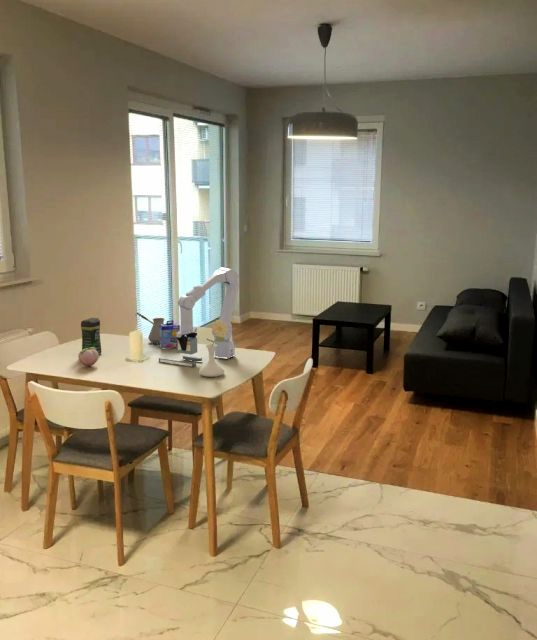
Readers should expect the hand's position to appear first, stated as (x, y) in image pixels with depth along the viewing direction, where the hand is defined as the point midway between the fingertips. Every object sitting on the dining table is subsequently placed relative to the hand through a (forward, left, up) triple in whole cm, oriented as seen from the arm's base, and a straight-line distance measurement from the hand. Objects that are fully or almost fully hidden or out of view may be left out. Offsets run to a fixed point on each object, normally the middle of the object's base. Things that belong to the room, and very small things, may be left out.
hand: (187, 349), depth 292 cm
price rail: (+3, 0, -7) cm, 8 cm away
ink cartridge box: (+25, -21, -7) cm, 34 cm away
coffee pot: (+41, -27, -7) cm, 50 cm away
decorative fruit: (+37, +27, -7) cm, 46 cm away
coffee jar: (+50, +10, -7) cm, 51 cm away
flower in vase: (-21, +11, -7) cm, 25 cm away
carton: (0, 0, -2) cm, 2 cm away
